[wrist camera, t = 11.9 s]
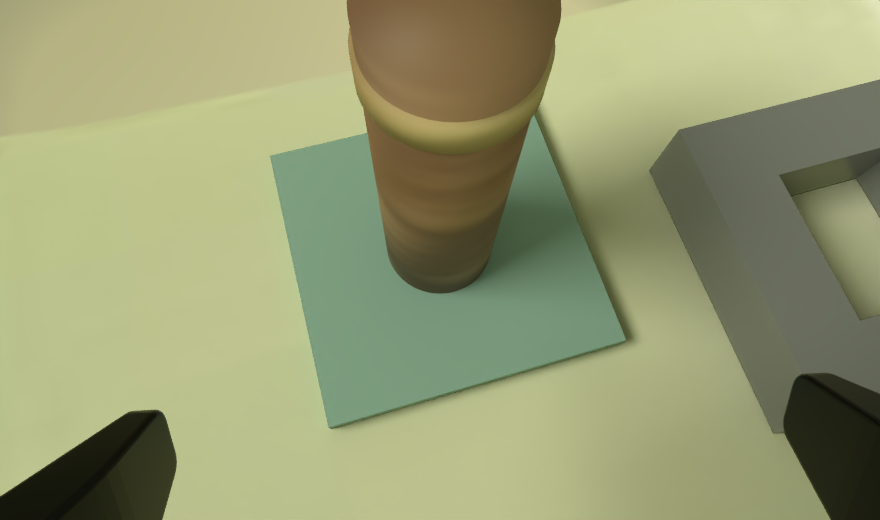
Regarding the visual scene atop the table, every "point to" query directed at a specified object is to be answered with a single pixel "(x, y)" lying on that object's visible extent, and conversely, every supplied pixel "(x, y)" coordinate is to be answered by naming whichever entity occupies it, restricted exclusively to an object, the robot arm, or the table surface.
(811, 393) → the robot arm
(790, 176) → the socket block
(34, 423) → the table surface
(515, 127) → the walnut peg
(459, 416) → the table surface
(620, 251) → the table surface
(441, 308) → the green mat
